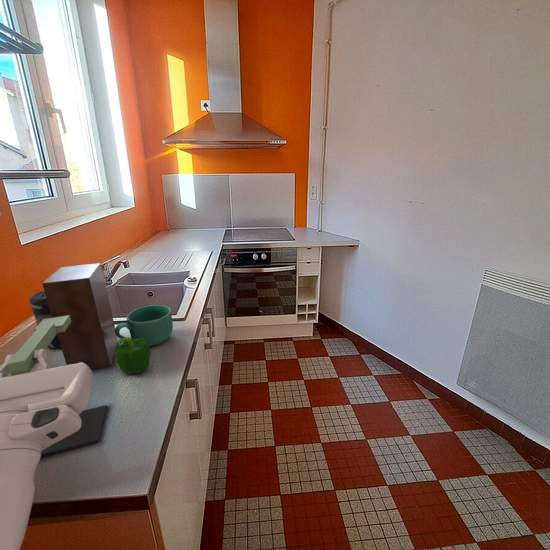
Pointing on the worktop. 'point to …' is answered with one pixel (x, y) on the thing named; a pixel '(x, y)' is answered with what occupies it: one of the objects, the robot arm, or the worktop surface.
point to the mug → (148, 324)
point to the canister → (42, 313)
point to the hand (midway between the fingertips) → (28, 353)
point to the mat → (81, 432)
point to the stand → (83, 314)
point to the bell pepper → (132, 355)
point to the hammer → (37, 343)
